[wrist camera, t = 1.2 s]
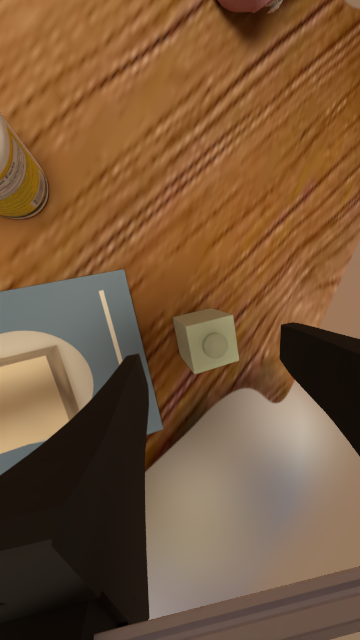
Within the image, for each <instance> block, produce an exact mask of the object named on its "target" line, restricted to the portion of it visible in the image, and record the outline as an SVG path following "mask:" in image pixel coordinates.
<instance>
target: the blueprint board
mask: <svg viewBox="0 0 360 640" xmlns="http://www.w3.org/2000/svg"><path fill="white" fill-rule="evenodd" d="M138 353H139V355H140V359H141V362H142V365H143V369H144V372H145V376H146V379H147V383H148V389H149V413H148V425H147V435H148V434H151V433H153V432H156V431H159V430H162V429H163V426H162V422H161V418H160V414H159V410H158V406H157V402H156V398H155V394H154V390H153V386H152V381H151V377H150V373H149V369H148V365H147V361H146V357H145V353H144V349H143V345H142V341H141V337H140V333H139V328H138V324H137V320H136V316H135V312H134V308H133V304H132V300H131V296H130V292H129V288H128V284H127V280H126V275H125V271H124V269H123V270H118V271H112V272H107V273H101V274H96V275H90V276H85V277H79V278H74V279H68V280H63V281H57V282H52V283H46V284H41V285H35V286H30V287H24V288H19V289H13V290H8V291H2V292H0V475H1V474H3V473H4V472H5V471H7V470H8V469H10V468H11V467H12V466H14V465H15V464H16V463H18V462H19V461H20V460H22V459H23V458H25V457H26V456H27V455H29V454H30V453H31V452H32V451H34V450H35V449H36V448H38V447H39V446H40V445H41V444H43V443H44V442H45V441H46V440H48V439H49V438H50V437H51V436H52V435H53V434H55V433H56V432H57V431H58V430H59V429H60V428H62V427H63V426H64V425H65V424H66V423H68V422H69V421H70V420H71V419H72V418H73V417H74V416H75V415H76V414H77V413H78V412H79V411H80V410H81V409H82V408H83V407H84V406H85V405H86V404H87V403H88V402H89V401H90V400H91V399H92V398H93V397H94V396H95V394H96V393H97V392H98V391H99V390H100V389H101V388H102V386H103V385H104V384H105V383H106V382H107V380H108V379H109V378H110V377H111V375H112V374H113V373H114V372H115V370H116V369H117V368H118V366H119V365H120V364H121V362H122V361H123V360H124V358H125V357H126V356H128V355H133V354H138Z"/></svg>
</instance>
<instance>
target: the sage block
mask: <svg viewBox="0 0 360 640" xmlns="http://www.w3.org/2000/svg"><path fill="white" fill-rule="evenodd" d="M172 318H173V323H174V328H175V333H176V338H177V343H178V348H179V353H180V356H181V358H182V359H183V360H184V361H185V363H186V364H187V365H188V367H189V368H190V369H191V370H192V372H193V373H194V374H198V373H201V372H204V371H207V370H210V369H214V368H217V367H220V366H223V365H226V364H229V363H233V362H236V361H239V356H238V349H237V341H236V334H235V326H234V319H233V315H232V314H229V313H226V312H222V311H219V310H216V309H212V308H209V309H205V310H201V311H196V312H192V313H188V314H184V315H180V316H176V317H172Z"/></svg>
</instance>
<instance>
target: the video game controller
mask: <svg viewBox="0 0 360 640" xmlns="http://www.w3.org/2000/svg"><path fill="white" fill-rule="evenodd" d="M217 1H218V2H219V3H220V5H221V6H223V7H224V8H226V9H227V10H229V11H233V12H252V13H255V12H257V11H258V10H260V9H261V8H263V7H265V6H266V7H269V6H271V8H270V9H269V10H268V11H267V13H273V12H274V11H276V10H277V9H278V8H279V7H280V5H281V3H282V1H283V0H279V1H278V0H217Z"/></svg>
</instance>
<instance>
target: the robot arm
mask: <svg viewBox="0 0 360 640" xmlns="http://www.w3.org/2000/svg"><path fill="white" fill-rule="evenodd" d="M280 360H281V362H282V363H283V364H284V366H285V367H286V369H287V370H288V372H289V373H290V374H291V376H292V377H293V378H294V379H295V380H296V381H297V382H298V383H299V384H300V385H301V387H302V388H303V389H304V390H305V391H306V392H307V393H308V394H309V395H310V396H311V397H312V398H313V399H314V401H315V402H316V403H317V404H318V405H319V406H320V407H321V408H322V409H323V410H324V411H325V412H326V414H328V416H329V417H330V418H331V419H332V420H333V421H334V423H335V424H336V426H337V427H338V428H339V429H340V431H341V432H342V433H343V435H344V436H345V437H346V438H347V440H348V441H349V442H350V444H351V445H352V447H353V448H354V449H355V451H356V452H357V453H358V455H359V456H360V339H357V338H353V337H349V336H345V335H341V334H338V333H334V332H330V331H326V330H323V329H319V328H315V327H312V326H308V325H304V324H299V323H288V324H283V325H281V338H280ZM148 413H149V389H148V383H147V379H146V376H145V372H144V369H143V365H142V362H141V359H140V355H139V353H138V354H133V355H128V356H126V357H125V358H124V360H123V361H122V362H121V364H120V365H119V366H118V368H117V369H116V370H115V372H114V373H113V374H112V375H111V377H110V378H109V379H108V380H107V382H106V383H105V384H104V385H103V386H102V388H101V389H100V390H99V391H98V392H97V393H96V394H95V396H94V397H93V398H92V399H91V400H90V401H89V402H88V403H87V404H86V405H85V406H84V407H83V408H82V409H81V410H80V411H79V412H78V413H77V414H76V415H75V416H74V417H73V418H72V419H71V420H70V421H69V422H68V423H66V424H65V425H64V426H63V427H62V428H60V429H59V430H58V431H57V432H56V433H55V434H53V435H52V436H51V437H50V438H49V439H48V440H46V441H45V442H44V443H43V444H41V445H40V446H39V447H38V448H36V449H35V450H34V451H32V452H31V453H30V454H29V455H27V456H26V457H25V458H23V459H22V460H20V461H19V462H18V463H16V464H15V465H14V466H12V467H11V468H10V469H8V470H7V471H5V472H4V473H3V474H1V475H0V640H330V639H334V638H337V637H341V636H345V635H348V634H352V633H356V632H359V631H360V566H359V567H355V568H352V569H348V570H343V571H340V572H336V573H332V574H328V575H324V576H320V577H316V578H312V579H308V580H304V581H300V582H296V583H293V584H289V585H285V586H281V587H277V588H273V589H269V590H266V591H261V592H258V593H254V594H250V595H246V596H242V597H238V598H234V599H230V600H226V601H222V602H218V603H214V604H210V605H207V606H202V607H199V608H195V609H191V610H187V611H183V612H180V613H175V614H171V615H167V616H163V617H160V618H156V619H152V620H148V619H149V600H148V581H147V580H148V578H147V556H146V525H145V524H146V523H145V448H146V436H147V425H148Z"/></svg>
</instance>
